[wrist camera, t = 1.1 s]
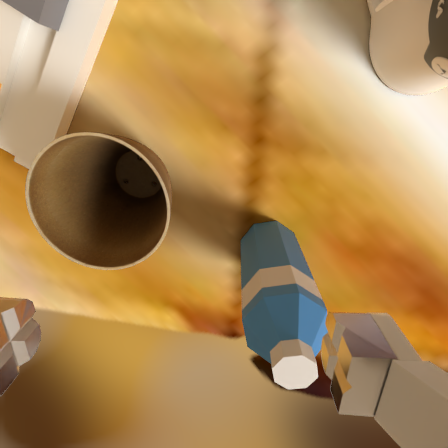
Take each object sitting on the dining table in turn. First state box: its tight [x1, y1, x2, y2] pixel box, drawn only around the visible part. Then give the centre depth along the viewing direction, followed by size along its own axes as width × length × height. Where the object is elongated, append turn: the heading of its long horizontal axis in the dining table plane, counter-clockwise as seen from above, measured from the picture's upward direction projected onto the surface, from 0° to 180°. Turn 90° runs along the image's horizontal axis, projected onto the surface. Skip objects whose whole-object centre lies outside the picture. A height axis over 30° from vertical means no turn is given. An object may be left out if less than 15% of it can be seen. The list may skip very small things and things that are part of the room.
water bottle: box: [241, 221, 328, 390], centre depth 38 cm, size 9×9×25 cm
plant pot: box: [25, 132, 172, 270], centre depth 39 cm, size 15×15×16 cm
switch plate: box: [0, 0, 118, 169], centre depth 39 cm, size 28×12×3 cm, turn 149°
